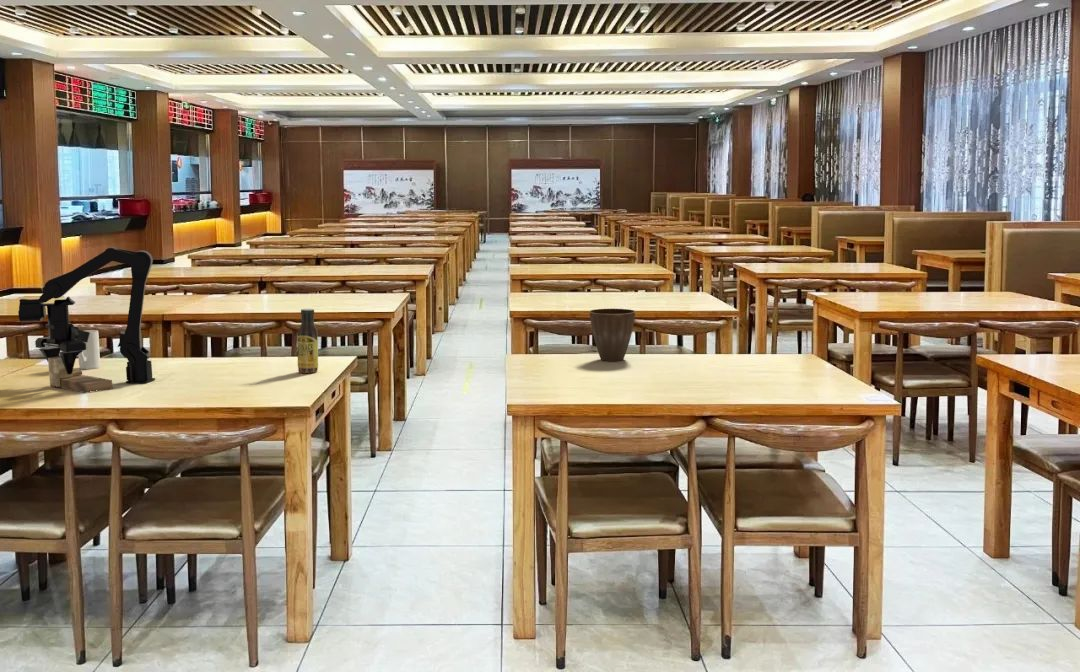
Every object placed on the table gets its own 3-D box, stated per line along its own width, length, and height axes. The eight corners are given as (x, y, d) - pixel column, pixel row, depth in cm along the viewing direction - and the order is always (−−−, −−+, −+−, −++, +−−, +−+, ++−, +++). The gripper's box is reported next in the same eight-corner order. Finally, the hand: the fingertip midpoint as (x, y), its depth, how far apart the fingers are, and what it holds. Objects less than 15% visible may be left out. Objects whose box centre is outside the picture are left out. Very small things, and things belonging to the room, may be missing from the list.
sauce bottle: (294, 373, 338) (291, 310, 335) (303, 370, 344) (300, 308, 341) (314, 374, 336) (311, 310, 334) (322, 370, 342) (320, 308, 340)
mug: (83, 366, 359) (81, 330, 357) (104, 365, 359) (101, 329, 357) (70, 371, 349) (68, 334, 347) (91, 371, 349) (89, 334, 347)
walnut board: (112, 388, 318) (111, 379, 317) (86, 392, 311) (86, 383, 311) (76, 381, 330) (75, 373, 329) (50, 385, 324) (50, 377, 323)
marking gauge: (85, 382, 326) (83, 355, 324) (57, 386, 319) (54, 359, 318) (78, 380, 328) (76, 354, 327) (50, 385, 321) (47, 358, 320)
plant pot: (636, 356, 362) (636, 308, 360) (634, 363, 347) (633, 313, 345) (592, 355, 364) (591, 308, 362) (587, 363, 349) (587, 313, 347)
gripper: (101, 319, 320) (105, 371, 322) (68, 315, 332) (72, 366, 334) (65, 323, 312) (69, 377, 314) (32, 319, 323) (36, 371, 325)
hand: (62, 372), depth 322 cm, fingers open, 8 cm apart
